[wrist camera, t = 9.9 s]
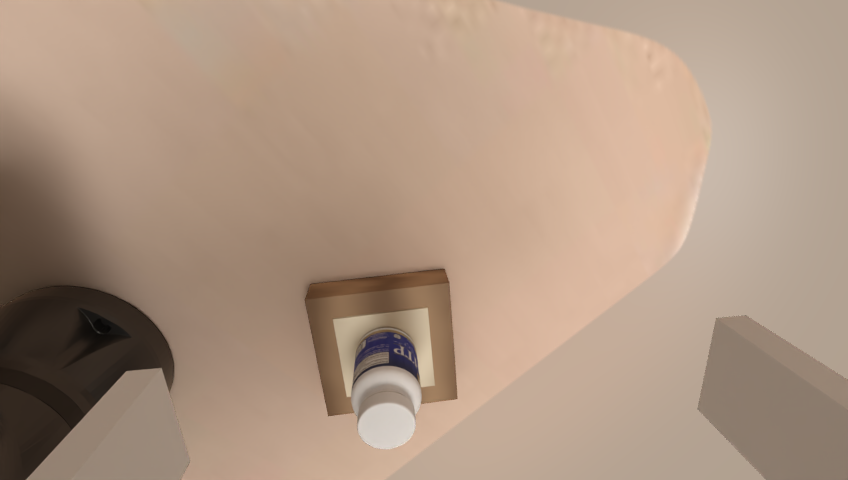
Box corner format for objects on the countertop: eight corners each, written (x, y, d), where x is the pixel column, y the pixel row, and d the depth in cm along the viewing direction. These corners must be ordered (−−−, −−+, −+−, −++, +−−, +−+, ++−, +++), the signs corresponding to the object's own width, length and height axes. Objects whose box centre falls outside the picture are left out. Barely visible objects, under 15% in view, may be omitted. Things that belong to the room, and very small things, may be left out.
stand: (331, 394, 42) (328, 417, 39) (310, 284, 38) (304, 300, 35) (452, 378, 43) (457, 400, 40) (444, 268, 39) (449, 284, 36)
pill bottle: (427, 359, 38) (439, 436, 29) (376, 386, 38) (374, 469, 30) (396, 314, 36) (400, 382, 28) (343, 344, 37) (332, 419, 28)
